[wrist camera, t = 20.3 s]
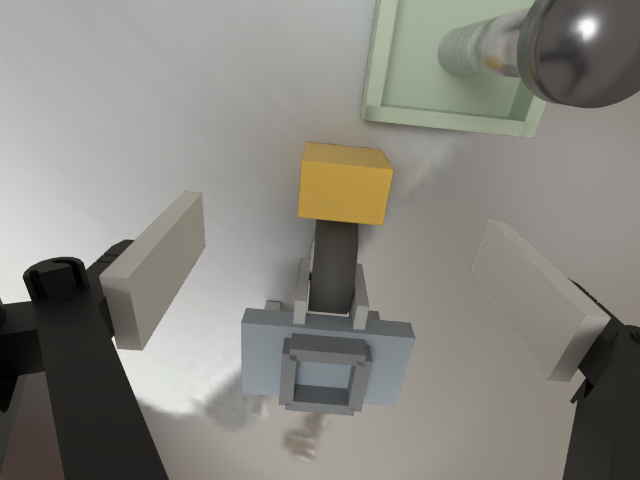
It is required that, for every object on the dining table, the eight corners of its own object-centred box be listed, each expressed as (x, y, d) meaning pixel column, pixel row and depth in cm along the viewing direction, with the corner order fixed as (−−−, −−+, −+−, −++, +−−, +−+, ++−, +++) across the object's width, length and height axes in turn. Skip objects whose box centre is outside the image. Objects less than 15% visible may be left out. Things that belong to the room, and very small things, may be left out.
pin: (434, 10, 23) (576, -65, 10) (500, 17, 23) (726, -47, 10) (419, 82, 25) (520, 101, 12) (479, 88, 25) (645, 114, 12)
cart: (263, 311, 35) (237, 410, 25) (266, 191, 29) (234, 257, 19) (378, 322, 36) (398, 423, 25) (405, 205, 30) (444, 277, 20)
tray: (383, -51, 22) (391, -67, 19) (567, -29, 22) (600, -42, 19) (359, 114, 26) (363, 120, 24) (512, 130, 27) (533, 138, 24)
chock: (306, 142, 27) (301, 160, 22) (380, 149, 28) (393, 169, 22) (303, 189, 29) (297, 217, 24) (372, 196, 29) (382, 225, 24)
